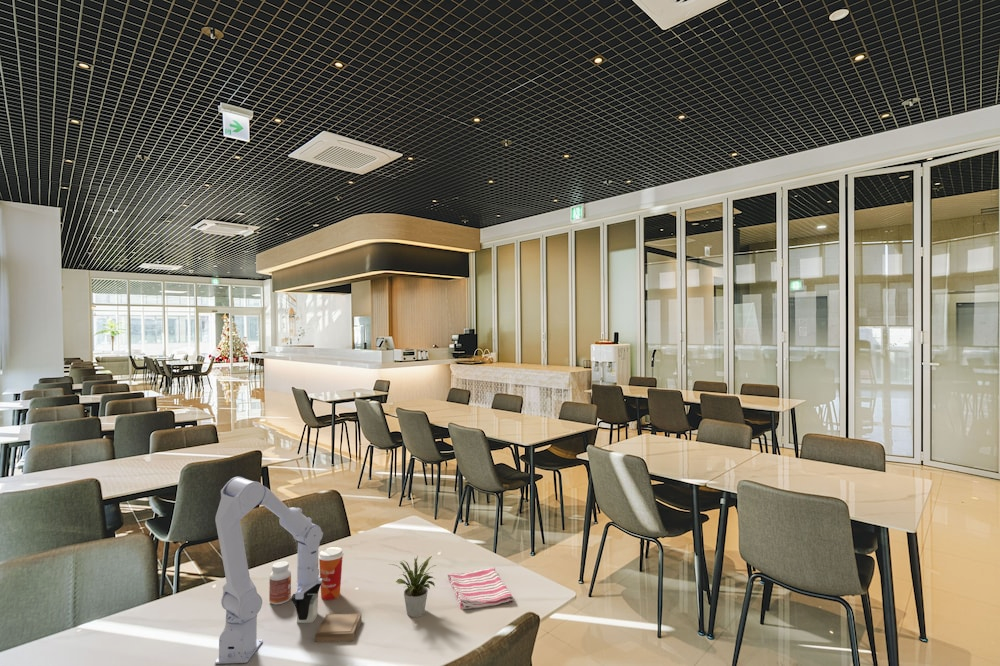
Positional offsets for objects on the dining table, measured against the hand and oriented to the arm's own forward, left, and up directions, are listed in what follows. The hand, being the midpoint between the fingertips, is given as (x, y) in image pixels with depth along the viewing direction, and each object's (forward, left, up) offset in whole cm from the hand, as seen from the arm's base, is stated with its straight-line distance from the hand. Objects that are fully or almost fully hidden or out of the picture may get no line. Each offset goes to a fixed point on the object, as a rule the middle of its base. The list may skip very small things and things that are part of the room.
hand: (307, 612), depth 146 cm
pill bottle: (+11, +12, -2) cm, 16 cm away
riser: (-7, -11, -2) cm, 13 cm away
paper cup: (+13, -3, -2) cm, 13 cm away
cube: (0, 0, -2) cm, 2 cm away
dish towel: (+15, -50, -2) cm, 52 cm away
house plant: (+1, -30, -2) cm, 30 cm away
